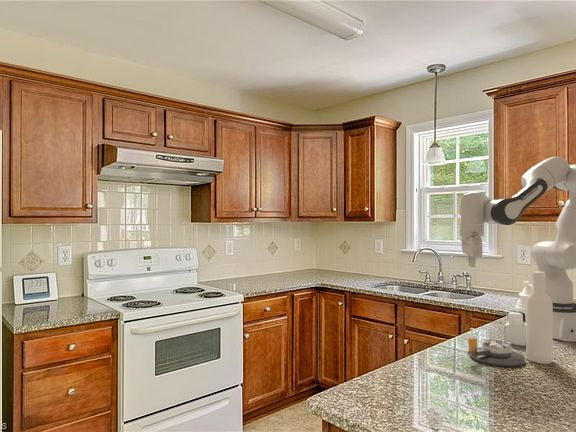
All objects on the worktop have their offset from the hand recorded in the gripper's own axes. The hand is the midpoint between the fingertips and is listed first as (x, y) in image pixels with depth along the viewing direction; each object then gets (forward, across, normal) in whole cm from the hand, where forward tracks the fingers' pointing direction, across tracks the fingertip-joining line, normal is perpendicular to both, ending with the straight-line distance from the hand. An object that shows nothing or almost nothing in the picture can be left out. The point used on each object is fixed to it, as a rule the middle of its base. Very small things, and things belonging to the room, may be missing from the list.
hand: (471, 266), depth 172 cm
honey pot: (+29, +46, -36) cm, 65 cm away
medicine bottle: (+29, -1, -16) cm, 33 cm away
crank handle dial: (+27, -26, 0) cm, 38 cm away
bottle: (+29, -22, -17) cm, 41 cm away
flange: (+29, -24, -3) cm, 38 cm away
